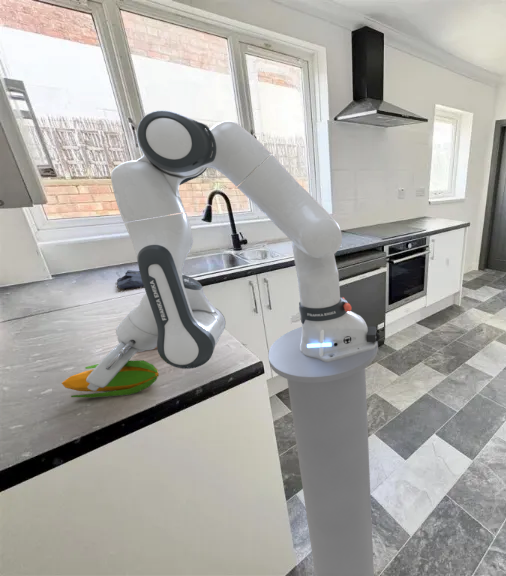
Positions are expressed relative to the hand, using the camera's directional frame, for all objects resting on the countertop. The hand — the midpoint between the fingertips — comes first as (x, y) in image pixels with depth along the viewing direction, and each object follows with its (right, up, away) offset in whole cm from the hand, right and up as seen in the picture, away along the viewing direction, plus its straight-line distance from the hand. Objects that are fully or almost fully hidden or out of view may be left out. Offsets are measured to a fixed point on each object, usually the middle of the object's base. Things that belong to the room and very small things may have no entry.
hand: (104, 375), depth 71 cm
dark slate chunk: (-58, +22, +81) cm, 102 cm away
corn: (+1, -5, +2) cm, 5 cm away
